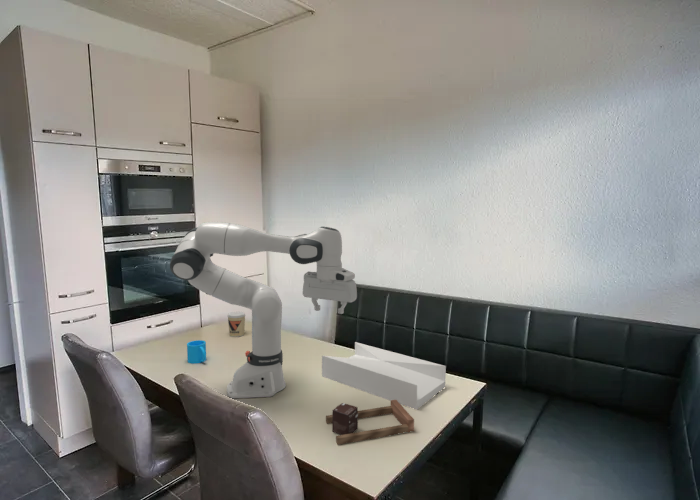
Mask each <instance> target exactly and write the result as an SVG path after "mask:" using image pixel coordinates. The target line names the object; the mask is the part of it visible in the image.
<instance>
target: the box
mask: <svg viewBox="0 0 700 500" xmlns="http://www.w3.org/2000/svg"><path fill="white" fill-rule="evenodd" d="M358 407H359V406H355V405H352V404H349V403H344V402H342V403H340V404H338V405H337V406H336V407H335V408H333V409H332V414H331V415H332V423H331V424H332V427H331V428H332V432H333V433H335V434H338V435H344V434H350V433H356V431H357V430H358V428H359V424H358V423H359V422H358V421H359V419H358V411H359V409H358Z"/></svg>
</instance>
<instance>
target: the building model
mask: <svg viewBox="0 0 700 500" xmlns="http://www.w3.org/2000/svg"><path fill="white" fill-rule="evenodd" d="M446 369H447V365H443V364H440V363H435V362H432V361H428V360H425V359H420V358H417V357H412V356H410V355H405V354H402V353H398V352H393V351H392V350H386V349H382V348H379V347H375V346H371V345H367V344H364V343H360V342H357V341H355V342H354V354H353V355H350V356H349V357H345V356H344V357H343V356H332V355H331V356H329V355H321V377H322V378H326V379H328V380H331V381H333V382H336V381H337V383H340V384H343V385H345V386H349V387H351V388H354V389H355V390H356V389H357V390H360V391H362V392H365V393H367V394H370V395H373V396H376V397H379V398H382V399H385V400H388V401H390V402H391V400H397V401H398V402H399V403H400V404H402V405H401V406H404V405H405V407H407V406H408V407H407V408H410V407H411V408H410V409H412V408H414V409H413V410H415V409H417V410H419V409H420V408H421V407H423V406H424V405H425V404H426V403H425V402H427V401H428V400H429V399H431V398H432V397H433V396H434V395H436V394H437V393H438V392H439V391H441V390H442V389H443V388H444V387H445V388H446V376H447V375H446V373H447V371H446ZM441 392H442V391H441ZM437 395H438V394H437ZM437 395H436V396H437ZM433 398H434V397H433ZM433 398H432V399H433ZM432 399H431V400H432ZM429 401H430V400H429ZM429 401H428V402H429ZM428 402H427V403H428ZM424 403H425V404H424ZM423 404H424V405H423ZM422 405H423V406H422ZM420 406H421V407H420ZM419 407H420V408H419ZM418 408H419V409H418Z"/></svg>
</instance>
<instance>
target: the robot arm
mask: <svg viewBox="0 0 700 500" xmlns="http://www.w3.org/2000/svg"><path fill="white" fill-rule="evenodd" d="M261 252H263V253H264V252H272V253H281V254H288V255H289V256H290V257H291V259H292V260H293V261H294V262H295V263H296V264H299V265H308V264H313V263H316V271H307V272H305V273H304V274H303V285H302V295H303V297H304V298H311V302H312V304H313V306H314V309H313V310H314V311H315V312H317V311H321V304H319V303H318V300H327V301H334V302H340V305H341V306H340V307H338V308H337V314H339V315H342V314H344V312H345V311H344V310H345V307H346V306H347V304H348V303H353V302H355V301H356V300H357V298H358V292H357V291H358V289H357V284H356V281H355V280H354V279H355V277H356V276H355V273H354V272H352V271H350V270H348V269H347V268H343V263H342V253H343V241H342V234H341V232H340V231H339V230H338V229H336V228H332V227H329V226H320V227H318V228H317V229H315V230H314V231H312V232H310V233H303V234H299V235H296V236H287V235H286V236H285V235H279V234H270V233H266V232H262V231H259V230H256V229H254V228H251V227H248V226H246V225H241V224H237V223H231V222H223V221H207V222H202V223H200V224H199V225H198V226H197V227H194V228H192V229H190V230H189V231H188V232H186V233H185V235H184V236H183V238H182V239H181V241H180V242H179V243H178V245H177V248H176V250H175V252H174V253H173V255H172V256H171V259H170V263H169V269H170V272H171V273H172V275H174V276H175V277H176V278H178V279H181V280H183V281H188V283H189V284H190V285H191V286H192V287H195V289H197V290H198V291H200V292H202V293H205V294H207V295H209V296H211V297H213V298H215V299H218V300H221V301H222V302H225V303H228V304H230V305H233V306H234V305H235V306H238V307H244V308H246V309H249V310H251V349H252V350H251V351H250V350H247V351H246V352H245V353H244V354H245V357H246V362H245V363H244V364H242V365H241V366H240V367H239V368H238V369H236V370H235V372H234V374H233V377H232V381H230V382H229V383H228V384H227V386H226V395H227V396H228V397H229V398H231V399H248V398H265V397H266V398H269V397H273V396H274V395H276V393H278V392H280V391H282V390H283V389H285V388H286V386H287V383H286V380H285V377H284V370H283V361H284V360H283V359H284V358H283V357H284V355H283V354H284V353H283V350H282V320H283V319H282V318H283V316H282V315H283V303H282V300H281V298H280V295H279V294H278V292H277V290H276V289H275V288H274V287H272V286H269V285H266V284H264V283H262V282H259V281H256V280H253V279H250V278H247V277H244V276H242V275H239V274H238V273H236V272H233V271H231V270H228V269H226V268H224V267H221V266H219V265H217V264H215V263H214V262H213V261H212V260H211V257H213V256H214V254H219V255H224V256H233V257H245V256H249V255H253V254H257V253H261Z"/></svg>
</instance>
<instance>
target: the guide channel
mask: <svg viewBox="0 0 700 500" xmlns="http://www.w3.org/2000/svg"><path fill="white" fill-rule="evenodd" d="M391 413H392V414H391ZM390 414H391V415H393V416H394V418H395V419H396V418H397V419H396V420H397V421H398V422H399V423H400V424H398V425H393V426H387V427H382V428H381V427H379V428H375V429H368V430H363V431H362V430H361V431H357V432H356V431H355V432H354V433H350V434H344V435H340V434H338V435H336V436H335V442H336V445H337V446H339V445H346V444H351V443H356V442H362V441H368V440H375V439H379V437H380V438H384V436H385V437H390V436H389V435H391V436H395V435H394V434H397V435H399V434H398V433H402V434H404V433H403V432H408V433H411V432H410V431H414V432H415V419H414V418H413V416H412V415H411V414H410V413H409V411H407V410H406V409H405V408H404V406H403V405H401V404H400V403H399V402H398V401H397V400H391V401H390V405H387V406H380V407H374V408H373V407H372V408H368V409H362V410H361V409H360V410H358V420H359V419H366V417H367V418H373V417H378V416H383V415H384V416H386V415H390ZM325 423H326V424H328V425H329V424H332V414H328V415H326V416H325ZM401 424H402V425H401Z"/></svg>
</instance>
